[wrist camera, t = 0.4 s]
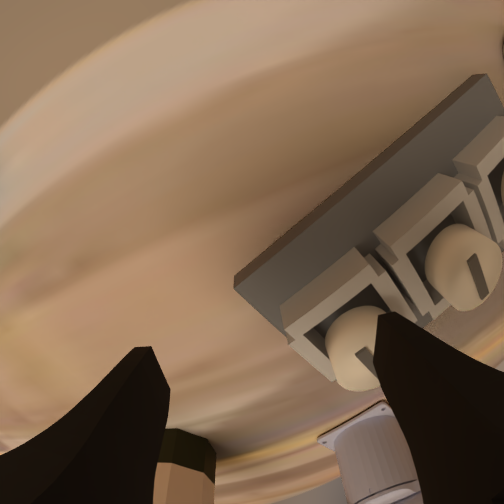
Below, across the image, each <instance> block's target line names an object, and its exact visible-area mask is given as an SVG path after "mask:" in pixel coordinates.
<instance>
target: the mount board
mask: <svg viewBox="0 0 504 504" xmlns="http://www.w3.org/2000/svg"><path fill="white" fill-rule="evenodd" d="M503 172H504V108H503V105H502V103H501V101H500V99H499V97H498V95H497V93H496V91H495V89H494V87H493V85H492V83H491V81H490V79H489V77H488V75H487V74H478V75H472V76H471V77H470V78H469V79H468V80H466V81H465V82H464V83H463V84H462V85H461V86H459V87H458V88H457V89H456V90H455V91H454V92H452V93H451V94H450V95H449V96H448V97H447V98H445V99H444V100H443V101H442V102H441V103H440V104H438V105H437V106H436V107H435V108H434V109H433V110H431V111H430V112H429V113H428V114H427V115H426V116H424V117H423V118H422V119H421V120H420V121H419V122H417V123H416V124H415V125H414V126H413V127H412V128H410V129H409V130H408V131H407V132H406V133H404V134H403V135H402V136H401V137H400V138H399V139H397V140H396V141H395V142H394V143H393V144H392V145H390V146H389V147H388V148H387V149H386V150H384V151H383V152H382V153H381V154H380V155H379V156H377V157H376V158H375V159H374V160H373V161H371V162H370V163H369V164H368V165H367V166H366V167H364V168H363V169H362V170H361V171H360V172H358V173H357V174H356V175H355V176H354V177H353V178H351V179H350V180H349V181H348V182H347V183H345V184H344V185H343V186H342V187H341V188H339V189H338V190H337V191H336V192H335V193H333V194H332V195H331V196H330V197H329V198H328V199H326V200H325V201H324V202H323V203H322V204H320V205H319V206H318V207H317V208H316V209H314V210H313V211H312V212H311V213H310V214H308V215H307V216H306V217H305V218H304V219H302V220H301V221H300V222H299V223H298V224H296V225H295V226H294V227H293V228H292V229H290V230H289V231H288V232H287V233H286V234H284V235H283V236H282V237H281V238H280V239H278V240H277V241H276V242H275V243H274V244H272V245H271V246H270V247H269V248H268V249H266V250H265V251H264V252H263V253H262V254H260V255H259V256H258V257H257V258H256V259H254V260H253V261H252V262H251V263H250V264H248V265H247V266H246V267H245V268H244V269H242V270H241V271H240V272H239V273H238V274H236V275H235V276H234V290H235V291H236V292H238V293H239V294H240V295H241V296H242V297H243V298H244V299H245V300H246V301H247V302H248V303H249V304H250V305H252V306H253V307H254V308H255V309H256V310H257V311H258V312H259V313H260V314H261V315H262V316H264V317H265V318H266V319H267V320H268V321H269V322H270V323H271V324H272V325H273V326H275V327H276V328H277V329H278V330H279V331H280V332H281V333H282V334H283V335H285V336H286V337H287V341H288V345H289V346H290V347H291V348H293V349H294V350H295V351H296V352H297V353H298V354H299V355H301V356H302V357H303V358H304V359H305V360H306V361H308V362H309V363H310V364H311V365H312V366H313V367H315V368H316V369H317V370H318V371H319V372H320V373H322V374H323V375H324V376H325V377H326V378H328V379H329V380H330V381H331V382H333V381H335V380H336V377H335V374H334V371H333V368H332V365H331V362H330V359H329V356H328V353H327V350H326V347H325V337H326V333H327V331H328V329H329V327H330V326H331V324H332V323H333V322H334V321H335V320H336V319H337V318H338V317H339V316H340V315H342V314H343V313H345V312H347V311H349V310H351V309H353V308H356V307H360V306H375V307H378V308H380V309H382V310H384V311H385V312H386V313H389V312H394V311H395V312H397V313H399V314H400V315H402V316H404V317H405V318H407V319H409V320H410V321H412V322H413V323H415V324H416V325H418V326H419V327H421V328H423V327H425V326H426V325H427V324H428V323H429V322H431V321H432V320H434V319H436V318H437V317H438V316H439V315H440V314H441V313H443V312H444V311H445V310H446V309H447V308H448V307H449V306H450V305H451V304H450V303H449V302H448V301H447V300H446V299H445V298H444V297H443V296H442V295H441V294H440V293H439V292H438V291H437V290H436V289H435V288H434V287H433V286H432V285H431V284H430V283H429V282H428V280H427V278H426V274H425V259H426V255H427V252H428V249H429V247H430V245H431V243H432V242H433V240H434V239H435V237H436V236H437V235H438V234H439V233H440V232H441V231H442V230H443V229H444V228H446V227H448V226H450V225H452V224H457V223H458V224H464V225H466V226H468V227H470V228H472V229H474V230H475V231H477V232H479V233H481V234H482V235H484V236H486V237H487V238H489V239H491V240H492V241H494V242H495V243H497V244H498V246H499V247H500V249H501V252H503V251H504V206H503V202H502V197H501V182H502V176H503ZM336 381H337V380H336Z"/></svg>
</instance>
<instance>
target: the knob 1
mask: <svg viewBox="0 0 504 504" xmlns="http://www.w3.org/2000/svg"><path fill="white" fill-rule="evenodd" d="M385 313H386V312H385V311H384V310H382V309H380V308H378V307H375V306H360V307H356V308H353V309H351V310H349V311H347V312H345V313H343V314H342V315H340V316H339V317H338V318H337V319H336V320H335V321H334V322H333V323H332V324H331V326H330V327H329V329H328V331H327V333H326V337H325V347H326V350H327V353H328V356H329V359H330V362H331V365H332V368H333V371H334V374H335V377H336V380H337V382H338V383H339V384H340V386H342V387H343V388H345V389H347V390H351V391H366V390H370V389H373V388H376V387H378V386H380V383H379V380H378V377H377V374H376V371H375V368H374V365H373V355H374V347H375V339H376V329H377V319H378V315H381V314H385Z"/></svg>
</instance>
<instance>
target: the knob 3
mask: <svg viewBox="0 0 504 504" xmlns="http://www.w3.org/2000/svg"><path fill="white" fill-rule="evenodd" d="M501 197H502V202H503V206H504V172H503V176H502V182H501Z"/></svg>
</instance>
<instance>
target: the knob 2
mask: <svg viewBox="0 0 504 504" xmlns="http://www.w3.org/2000/svg"><path fill="white" fill-rule="evenodd" d="M502 261H503V259H502V252H501V249H500V247H499V246H498V244H497V243H495V242H494V241H492V240H491V239H489V238H487V237H486V236H484V235H482V234H481V233H479V232H477V231H475V230H474V229H472V228H470V227H468V226H466V225H464V224H458V223H457V224H452V225H450V226H448V227H446V228H444V229H443V230H442V231H441V232H440V233H439V234H438V235H437V236H436V237H435V239H434V240H433V242H432V243H431V245H430V247H429V249H428V252H427V255H426V259H425V274H426V278H427V280H428V282H429V283H430V284H431V285H432V286H433V287H434V288H435V289H436V290H437V291H438V292H439V293H440V294H441V295H442V296H443V297H444V298H445V299H446V300H447V301H448V302H449V303H450V304H451V305H452V306H453V307H454V308H455V309H456V310H459V311H470V310H472V309H475V308H476V307H478V306H479V305H481V304H482V303H483V302H484V301H485V300H486V299H487V298H488V297H489V296H490V294H491V293H492V292H493V290H494V288H495V287H496V285H497V283H498V280H499V278H500V274H501V270H502Z"/></svg>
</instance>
